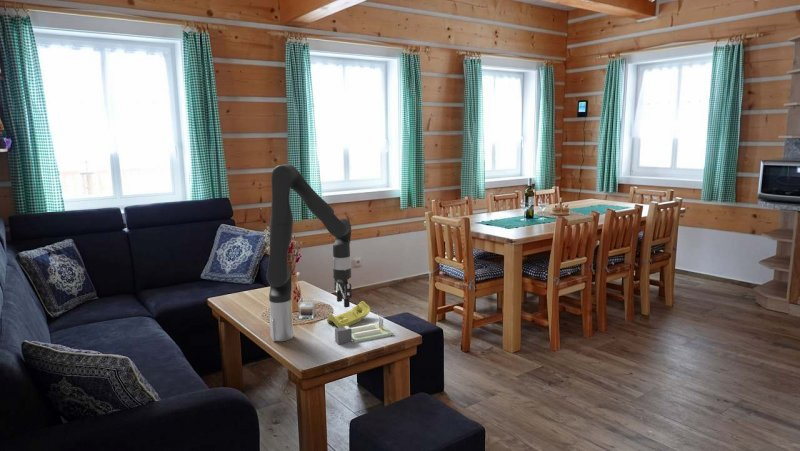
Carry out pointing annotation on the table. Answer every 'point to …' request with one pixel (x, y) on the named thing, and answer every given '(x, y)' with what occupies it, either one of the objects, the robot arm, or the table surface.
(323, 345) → the table surface
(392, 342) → the table surface
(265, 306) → the table surface
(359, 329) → the board
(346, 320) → the plastic component
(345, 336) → the plug
